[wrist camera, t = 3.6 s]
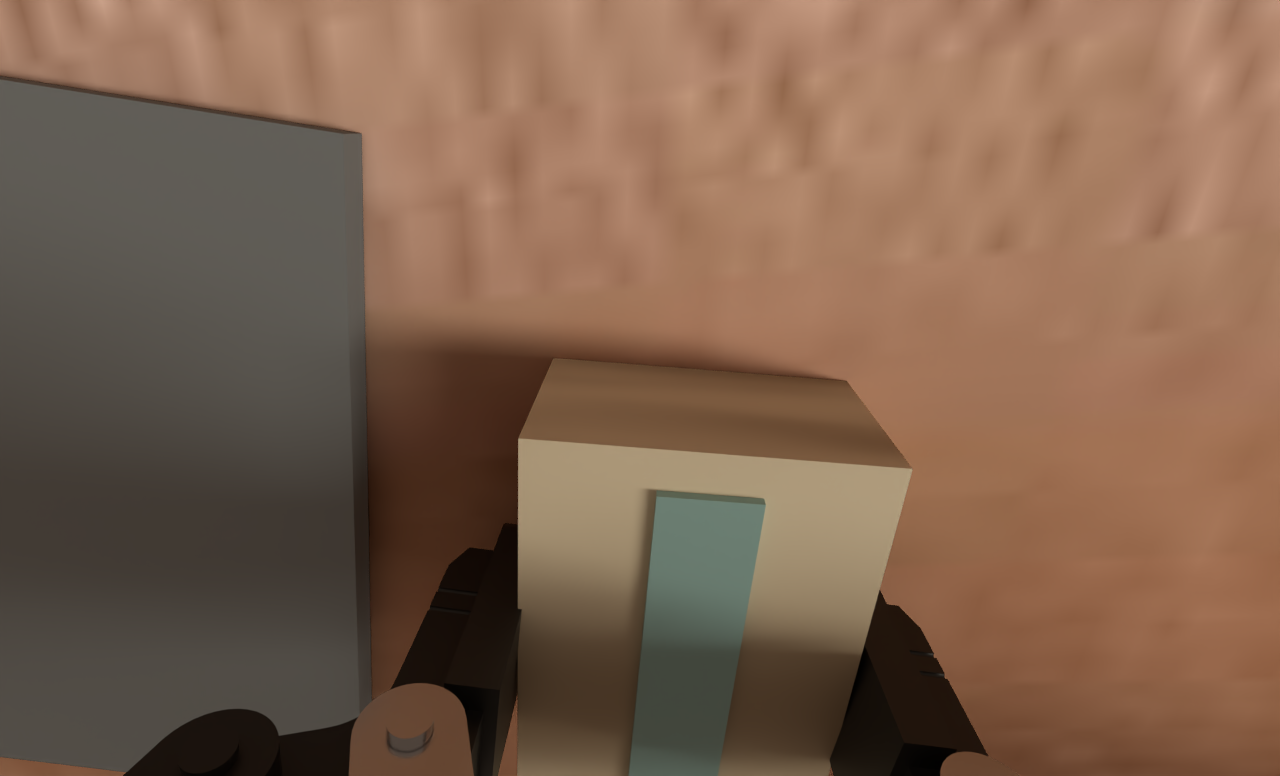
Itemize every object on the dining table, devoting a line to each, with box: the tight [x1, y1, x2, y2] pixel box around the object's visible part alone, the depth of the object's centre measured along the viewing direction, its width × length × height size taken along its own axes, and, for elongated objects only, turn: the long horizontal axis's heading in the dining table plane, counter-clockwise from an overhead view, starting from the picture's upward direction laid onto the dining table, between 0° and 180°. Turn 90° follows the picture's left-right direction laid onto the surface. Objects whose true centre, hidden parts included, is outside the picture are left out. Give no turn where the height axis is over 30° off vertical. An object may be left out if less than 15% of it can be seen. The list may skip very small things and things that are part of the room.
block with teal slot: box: [517, 358, 913, 776], centre depth 11 cm, size 8×5×3 cm, turn 176°
